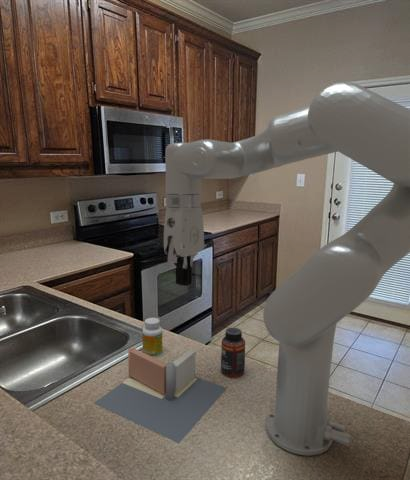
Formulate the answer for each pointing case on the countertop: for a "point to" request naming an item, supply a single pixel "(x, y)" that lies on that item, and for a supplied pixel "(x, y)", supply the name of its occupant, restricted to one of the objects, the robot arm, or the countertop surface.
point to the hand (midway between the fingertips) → (183, 283)
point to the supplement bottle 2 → (233, 353)
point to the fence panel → (147, 370)
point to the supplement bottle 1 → (152, 337)
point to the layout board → (165, 400)
